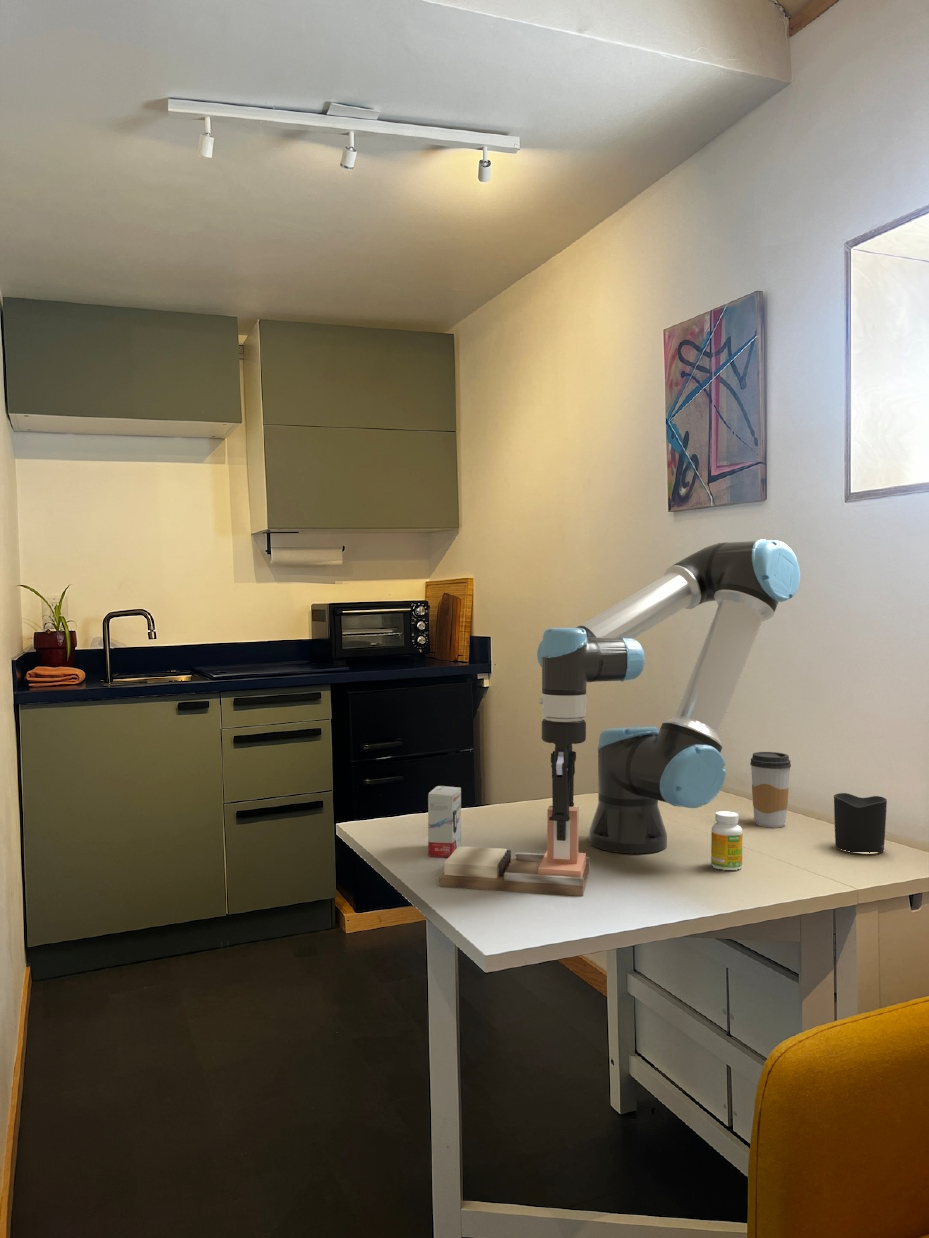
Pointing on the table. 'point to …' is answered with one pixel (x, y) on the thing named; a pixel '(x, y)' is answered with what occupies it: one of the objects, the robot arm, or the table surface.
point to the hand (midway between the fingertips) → (563, 855)
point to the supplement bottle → (726, 842)
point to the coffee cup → (770, 788)
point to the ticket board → (506, 872)
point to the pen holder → (859, 823)
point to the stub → (577, 860)
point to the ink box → (444, 821)
